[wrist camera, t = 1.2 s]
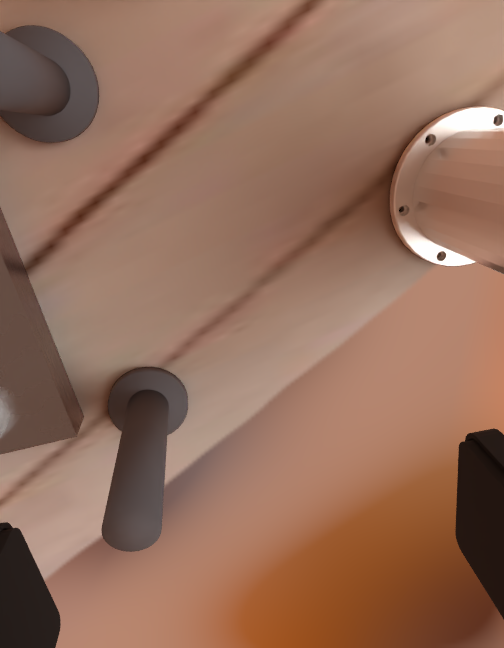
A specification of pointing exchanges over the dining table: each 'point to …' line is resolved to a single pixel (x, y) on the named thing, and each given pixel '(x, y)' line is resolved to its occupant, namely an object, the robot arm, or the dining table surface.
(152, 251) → the dining table surface
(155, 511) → the post
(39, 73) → the knob
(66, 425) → the breaker panel
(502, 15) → the dining table surface
